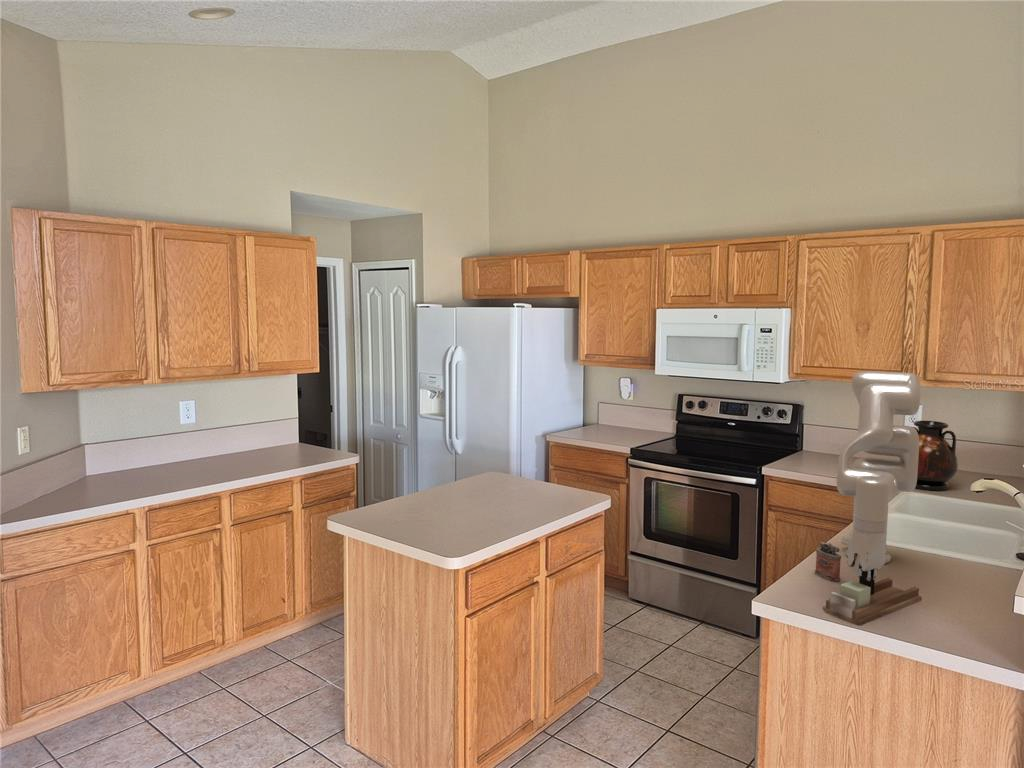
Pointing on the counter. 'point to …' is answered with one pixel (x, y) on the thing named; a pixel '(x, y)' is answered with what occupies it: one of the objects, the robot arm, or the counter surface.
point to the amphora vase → (935, 456)
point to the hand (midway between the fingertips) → (866, 593)
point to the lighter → (828, 562)
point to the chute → (872, 603)
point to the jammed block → (856, 593)
